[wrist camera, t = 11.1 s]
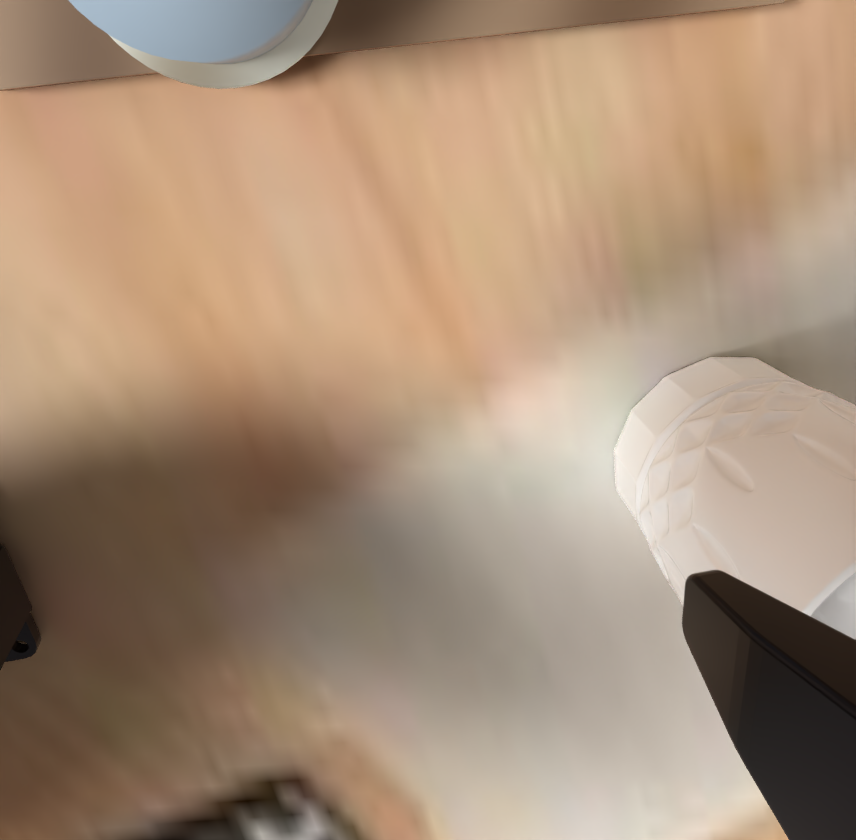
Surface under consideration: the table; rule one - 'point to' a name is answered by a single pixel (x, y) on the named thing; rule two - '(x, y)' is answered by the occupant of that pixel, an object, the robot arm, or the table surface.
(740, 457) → the white cup
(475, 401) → the table surface
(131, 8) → the short pin
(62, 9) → the board
